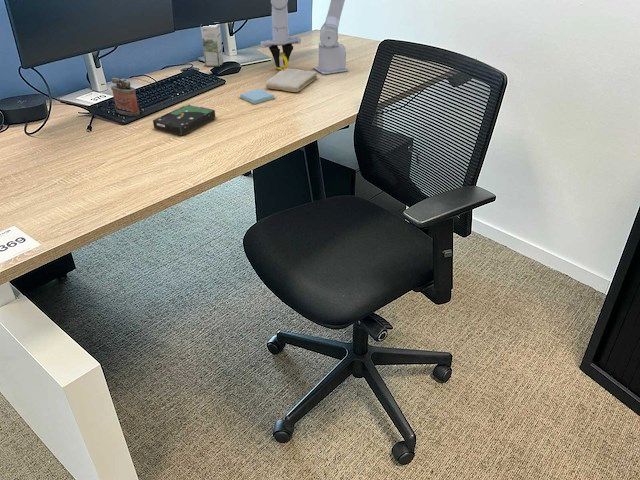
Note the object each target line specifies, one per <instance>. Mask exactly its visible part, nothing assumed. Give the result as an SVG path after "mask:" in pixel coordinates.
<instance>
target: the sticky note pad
mask: <svg viewBox="0 0 640 480" xmlns="http://www.w3.org/2000/svg"><path fill="white" fill-rule="evenodd" d="M239 96H240V99H242V100H245V101H247V102H249V103H251V104H252V105H253V104H254V105H256V104H260V103H264V102H267V101H270V100H274V99H275V94H272V93H270V92H267V91H266V90H263V89H260V88H258V89H254V90H249V91H247V92H242V93H240V94H239Z"/></svg>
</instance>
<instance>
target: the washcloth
mask: <svg viewBox="0 0 640 480" xmlns="http://www.w3.org/2000/svg"><path fill="white" fill-rule="evenodd" d="M317 73H318V72H317V71H314V70H302V69H298V68H289V67H287V69H285V70H284V71H281V70H279V71H278V72H277V73H276V74H274V75H272V77H269V78H268V79H267V81H266V83H265V88H267V89H272V90H279V91H284V92H291V93H299V92H300V91H302V90H303V89H304V88H306V87H307V86H308V85H309V84H311V83H312V82H314V81H315V80H317V78H318V76H317Z"/></svg>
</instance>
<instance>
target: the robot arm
mask: <svg viewBox="0 0 640 480" xmlns="http://www.w3.org/2000/svg"><path fill="white" fill-rule="evenodd" d="M345 1H346V0H330V3H329V6H328V10H327V14H326V17H325V21H324V23H323V24H322V25H321V27H320V31H319V33H320V34H319V41H320V42H319V43H318V66H315V67H314V68H313V69H314V70H316V72H317V71H318V72H319V73H320V74H322V75H329V74H337V73H342V72H343V73H344V72H347V69H346V68H347V49H346V47H345V45H344V44H343V43H340V42H338V41H339V26H340V20H341V16H342V14H343V9H344V5H345ZM288 2H289V0H270V5H271V31H272V32H271V33H272V35H271V36H272V38H271V39H266V40H261V41H260V48H262V49H266V48H268V50H269V51H270V53H271V55H272V58H273V61H274V65H275V67H276V68H277V67H280V68H281V64H280V63H281V62H280V56H279V55H280V52H281V50H282V52H283V53H285V56H286V58H287V60H288V62H289V61H290V57H291V54H292V52H293V50H294V45H296V44H297V45H301V38H300V36H291V37H290V35H289V34H290V33H289V12H288ZM279 46H281V49H280V48H279ZM282 62H283V66H285V62H284V59H283V58H282Z"/></svg>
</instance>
